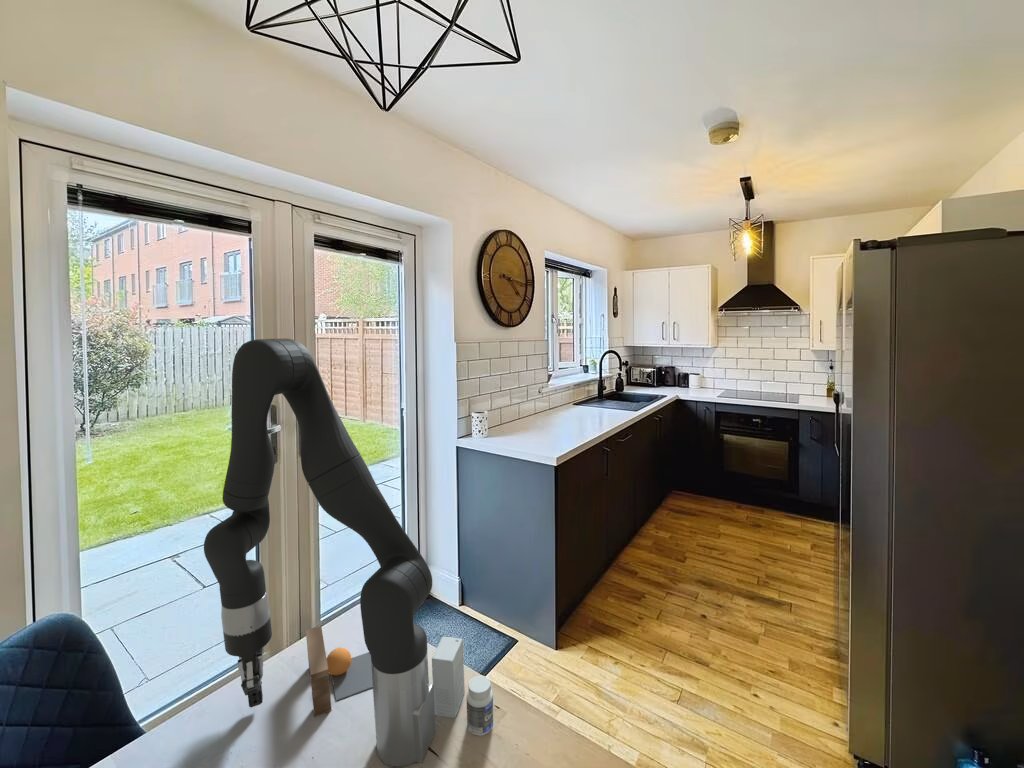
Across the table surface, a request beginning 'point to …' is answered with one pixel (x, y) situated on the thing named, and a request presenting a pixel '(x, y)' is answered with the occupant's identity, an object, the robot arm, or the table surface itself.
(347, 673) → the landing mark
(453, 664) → the skincare box
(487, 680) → the pill bottle
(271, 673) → the table surface
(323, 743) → the table surface
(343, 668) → the ball
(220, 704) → the table surface
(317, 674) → the bridge
